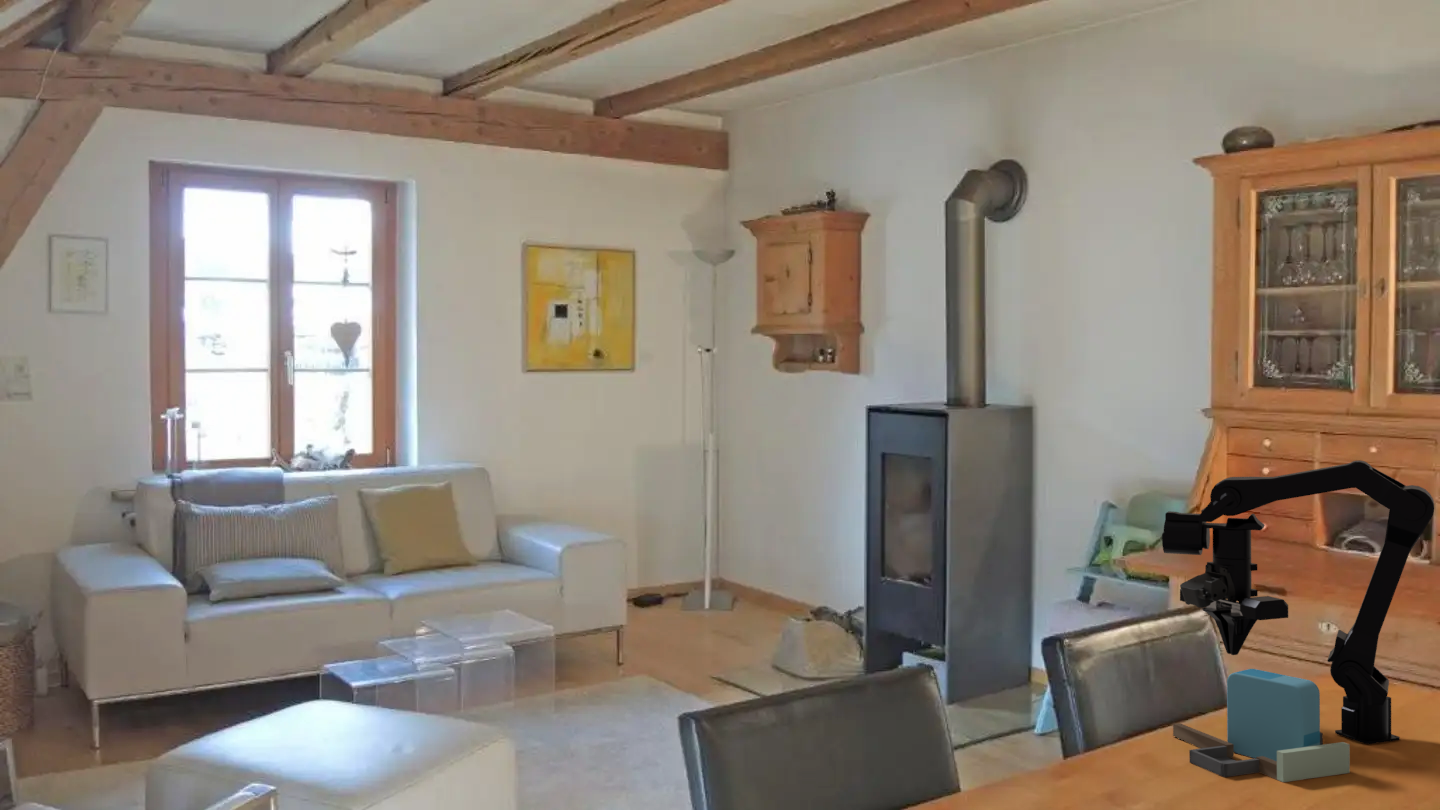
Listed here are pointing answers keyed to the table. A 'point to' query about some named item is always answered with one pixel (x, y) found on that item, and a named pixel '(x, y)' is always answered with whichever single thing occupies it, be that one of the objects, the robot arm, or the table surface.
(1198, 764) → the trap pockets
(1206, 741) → the lane rails
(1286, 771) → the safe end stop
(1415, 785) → the table surface
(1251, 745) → the blue rounded slab
